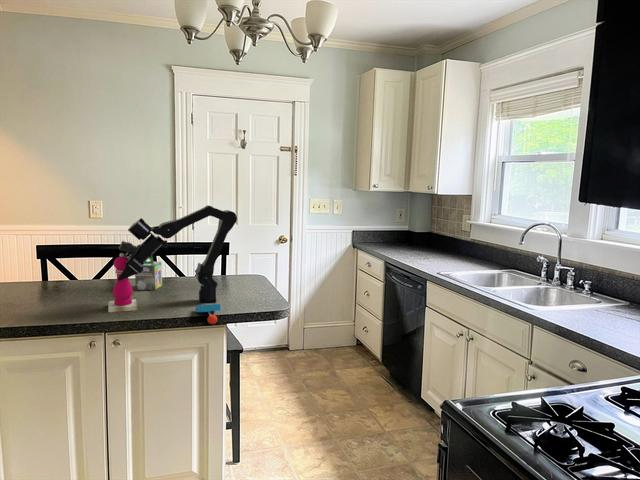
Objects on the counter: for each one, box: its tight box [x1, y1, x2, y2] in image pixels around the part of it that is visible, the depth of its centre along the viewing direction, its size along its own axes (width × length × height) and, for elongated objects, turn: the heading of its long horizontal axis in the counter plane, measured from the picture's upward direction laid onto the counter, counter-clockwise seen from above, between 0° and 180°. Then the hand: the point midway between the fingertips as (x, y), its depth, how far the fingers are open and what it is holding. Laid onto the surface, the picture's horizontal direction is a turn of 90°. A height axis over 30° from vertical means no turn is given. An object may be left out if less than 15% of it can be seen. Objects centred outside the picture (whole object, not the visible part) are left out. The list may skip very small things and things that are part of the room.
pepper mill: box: [112, 252, 134, 306], centre depth 179 cm, size 7×7×20 cm
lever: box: [195, 303, 221, 325], centre depth 172 cm, size 7×7×18 cm
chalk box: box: [134, 256, 163, 291], centre depth 212 cm, size 9×9×15 cm
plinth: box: [107, 299, 138, 313], centre depth 181 cm, size 10×10×2 cm
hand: (118, 277), depth 179 cm, fingers open, 9 cm apart
